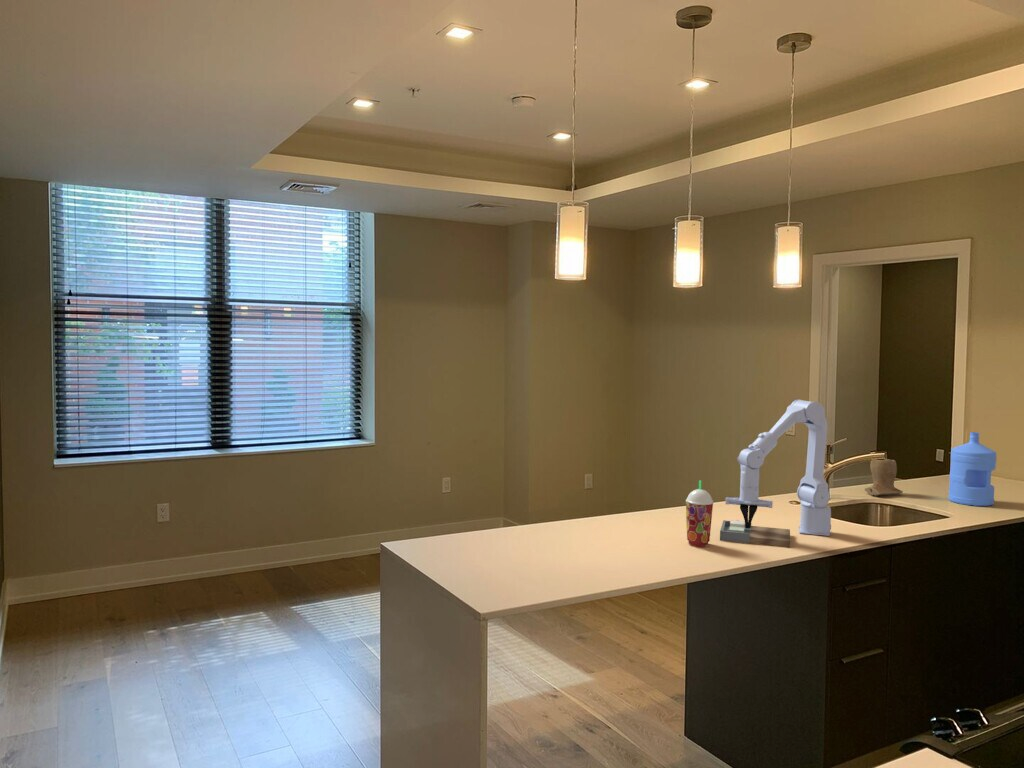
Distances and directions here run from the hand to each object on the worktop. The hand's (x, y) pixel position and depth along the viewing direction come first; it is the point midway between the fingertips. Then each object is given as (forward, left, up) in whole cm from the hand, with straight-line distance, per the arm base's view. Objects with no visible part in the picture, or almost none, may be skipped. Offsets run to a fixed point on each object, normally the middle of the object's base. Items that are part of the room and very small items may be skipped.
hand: (747, 527), depth 251 cm
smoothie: (+14, +17, -3) cm, 22 cm away
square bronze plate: (-7, +2, -3) cm, 8 cm away
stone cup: (-50, -91, -3) cm, 104 cm away
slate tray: (+4, +2, -3) cm, 5 cm away
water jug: (-82, -88, -3) cm, 120 cm away
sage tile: (+3, +5, -1) cm, 6 cm away
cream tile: (+3, 0, -1) cm, 3 cm away
